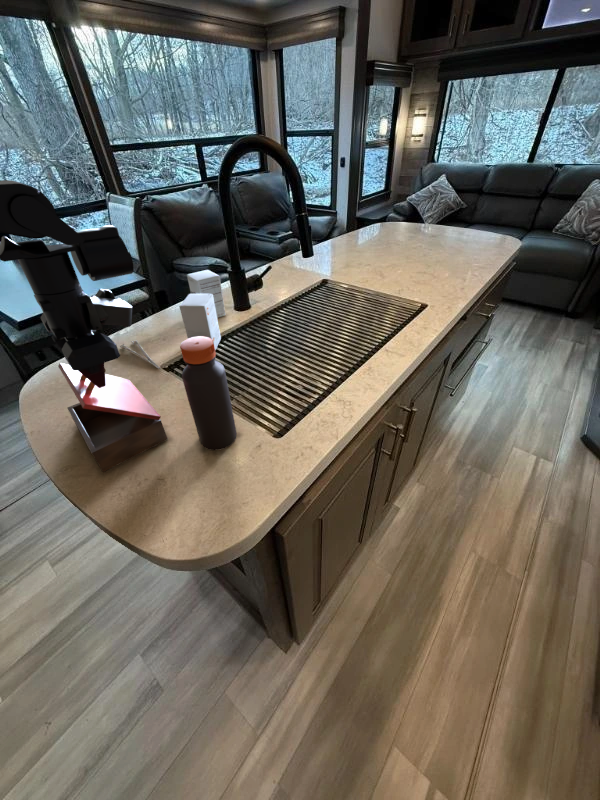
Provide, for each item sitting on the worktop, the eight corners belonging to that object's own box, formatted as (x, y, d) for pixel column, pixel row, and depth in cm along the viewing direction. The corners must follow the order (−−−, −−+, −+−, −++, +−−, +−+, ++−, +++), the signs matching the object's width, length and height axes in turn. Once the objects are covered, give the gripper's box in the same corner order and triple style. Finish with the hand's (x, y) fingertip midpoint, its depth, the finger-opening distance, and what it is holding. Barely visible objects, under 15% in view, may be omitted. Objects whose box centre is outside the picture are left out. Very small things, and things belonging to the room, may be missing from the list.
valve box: (103, 472, 56) (91, 453, 53) (77, 426, 65) (66, 407, 62) (168, 439, 62) (161, 420, 59) (136, 401, 71) (129, 382, 68)
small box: (199, 338, 93) (188, 293, 85) (221, 338, 93) (213, 293, 85) (190, 353, 87) (178, 305, 79) (214, 353, 86) (204, 305, 78)
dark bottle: (200, 454, 59) (171, 357, 46) (200, 429, 64) (174, 335, 52) (238, 447, 60) (220, 351, 48) (235, 423, 65) (218, 330, 53)
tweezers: (119, 348, 89) (117, 342, 88) (136, 342, 92) (134, 336, 90) (152, 377, 80) (150, 370, 79) (170, 369, 83) (168, 363, 82)
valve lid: (83, 408, 49) (97, 376, 48) (58, 366, 58) (69, 339, 57) (159, 420, 59) (172, 393, 58) (127, 382, 68) (138, 359, 67)
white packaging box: (194, 314, 106) (185, 274, 98) (215, 308, 109) (208, 268, 102) (205, 322, 101) (196, 280, 93) (226, 315, 105) (220, 274, 97)
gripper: (140, 292, 45) (166, 386, 55) (98, 263, 56) (126, 345, 66) (46, 313, 39) (94, 414, 49) (20, 276, 50) (63, 364, 60)
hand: (97, 380), depth 56 cm, fingers closed on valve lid, 5 cm apart
